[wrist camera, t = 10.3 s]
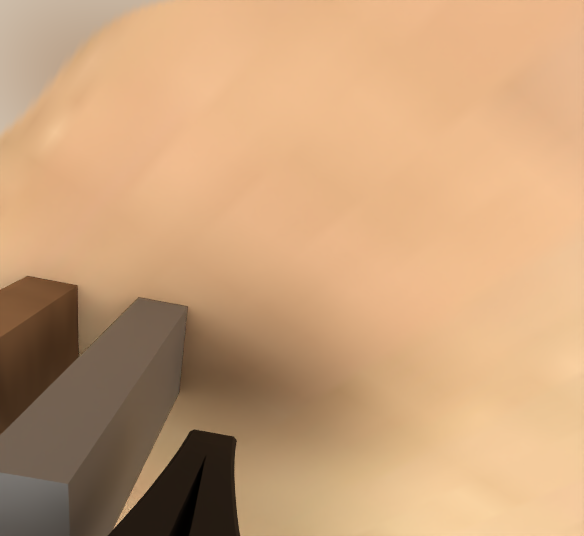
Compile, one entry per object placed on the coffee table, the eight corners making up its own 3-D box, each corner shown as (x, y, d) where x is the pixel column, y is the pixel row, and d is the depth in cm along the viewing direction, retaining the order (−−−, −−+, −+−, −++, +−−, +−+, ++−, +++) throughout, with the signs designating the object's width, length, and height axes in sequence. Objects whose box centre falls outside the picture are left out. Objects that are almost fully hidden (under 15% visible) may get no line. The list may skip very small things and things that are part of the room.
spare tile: (179, 392, 16) (72, 612, 9) (134, 384, 16) (-11, 599, 9) (187, 306, 15) (68, 483, 7) (138, 297, 15) (-33, 466, 7)
